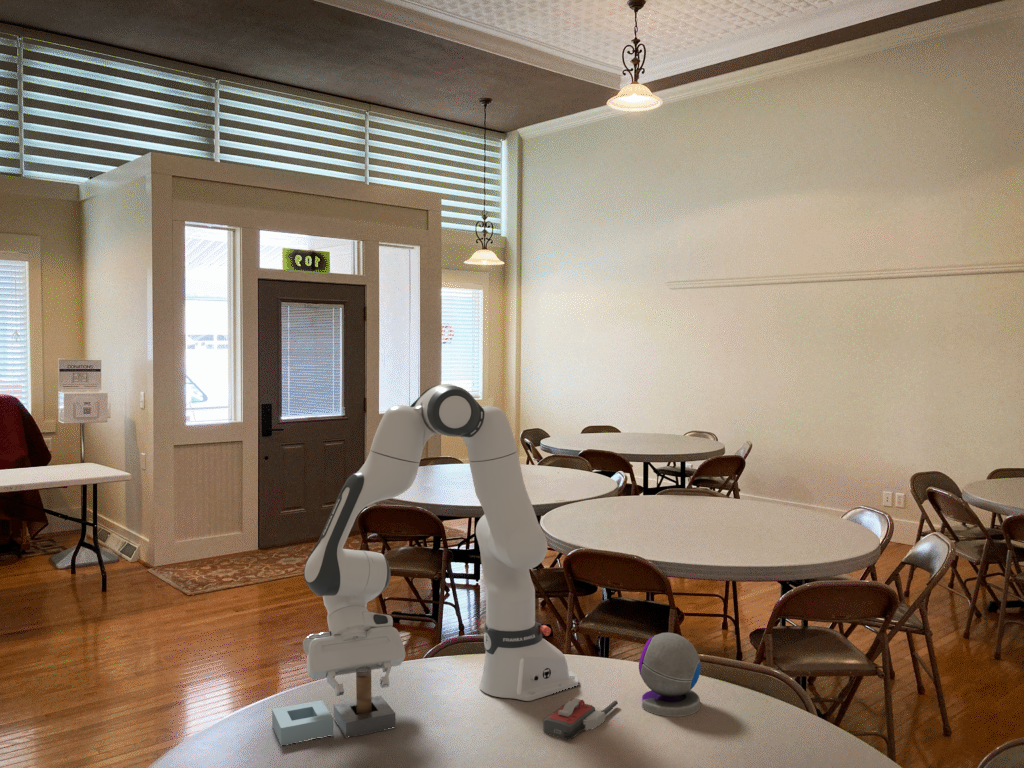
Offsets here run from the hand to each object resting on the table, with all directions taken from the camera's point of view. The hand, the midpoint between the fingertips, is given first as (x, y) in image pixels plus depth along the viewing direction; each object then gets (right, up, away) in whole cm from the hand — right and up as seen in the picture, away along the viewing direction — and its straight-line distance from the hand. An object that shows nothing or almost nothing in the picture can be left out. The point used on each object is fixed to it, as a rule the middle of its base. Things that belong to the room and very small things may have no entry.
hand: (363, 690), depth 167 cm
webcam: (+64, -6, +8) cm, 65 cm away
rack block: (-11, -7, -4) cm, 14 cm away
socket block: (0, -7, 0) cm, 7 cm away
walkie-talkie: (+44, -7, 0) cm, 45 cm away
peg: (0, -7, 0) cm, 7 cm away
